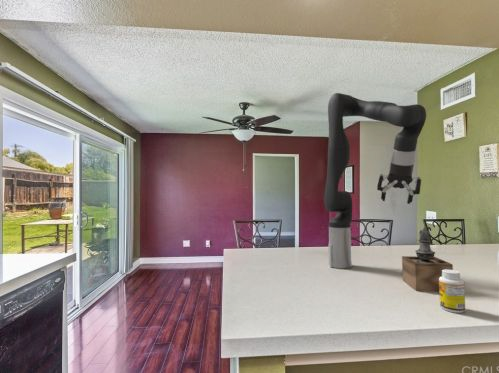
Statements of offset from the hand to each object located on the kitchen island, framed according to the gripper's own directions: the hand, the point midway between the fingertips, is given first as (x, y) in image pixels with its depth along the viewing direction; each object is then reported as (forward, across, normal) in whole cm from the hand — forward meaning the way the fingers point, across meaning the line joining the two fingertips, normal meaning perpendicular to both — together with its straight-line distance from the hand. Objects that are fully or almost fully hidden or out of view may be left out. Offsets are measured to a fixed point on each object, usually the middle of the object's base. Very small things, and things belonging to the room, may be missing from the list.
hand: (395, 201), depth 107 cm
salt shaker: (+14, -10, +17) cm, 24 cm away
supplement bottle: (+13, -14, +38) cm, 43 cm away
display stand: (+21, -11, +20) cm, 31 cm away
